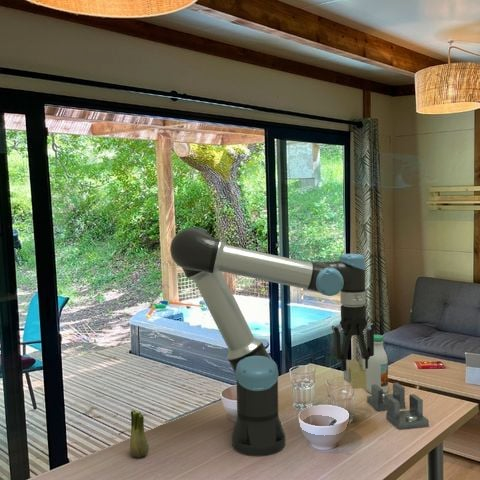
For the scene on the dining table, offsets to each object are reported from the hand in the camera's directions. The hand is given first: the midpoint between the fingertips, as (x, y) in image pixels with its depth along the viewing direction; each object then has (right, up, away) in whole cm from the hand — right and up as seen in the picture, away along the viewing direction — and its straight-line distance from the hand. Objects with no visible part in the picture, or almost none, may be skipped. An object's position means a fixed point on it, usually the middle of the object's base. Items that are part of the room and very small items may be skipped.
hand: (354, 379), depth 157 cm
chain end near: (+16, -13, -2) cm, 20 cm away
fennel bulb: (-63, -16, -18) cm, 67 cm away
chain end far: (+13, -12, +12) cm, 21 cm away
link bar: (0, -1, 0) cm, 1 cm away
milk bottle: (+14, -11, +26) cm, 31 cm away
